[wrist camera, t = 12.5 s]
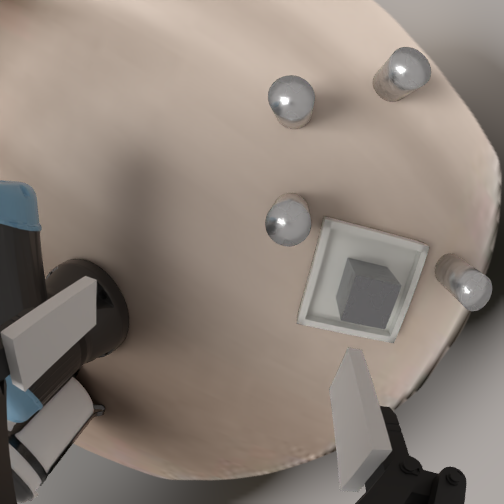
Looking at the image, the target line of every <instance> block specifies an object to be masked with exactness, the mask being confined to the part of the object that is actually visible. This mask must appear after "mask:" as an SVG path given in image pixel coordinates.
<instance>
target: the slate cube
mask: <svg viewBox="0 0 504 504" xmlns="http://www.w3.org/2000/svg"><path fill="white" fill-rule="evenodd" d="M400 289H401V284H400V283H399V282H398V280H397V279H396V278H395V276H394V275H393V274H392V272H391V271H390V270H389V269H388V267H385V266H381V265H377V264H373V263H369V262H364V261H360V260H356V259H352V258H347V261H346V265H345V268H344V271H343V275H342V278H341V281H340V285H339V288H338V291H337V294H336V301H337V305H338V310H339V314H340V319H341V321H346V322H351V323H355V324H360V325H365V326H370V327H375V328H380V329H385V328H386V326H387V323H388V321H389V318H390V316H391V313H392V310H393V308H394V305H395V302H396V300H397V297H398V294H399V291H400Z"/></svg>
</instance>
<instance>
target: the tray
mask: <svg viewBox="0 0 504 504" xmlns="http://www.w3.org/2000/svg"><path fill="white" fill-rule="evenodd" d="M428 250H429V246H428V245H426V244H425V243H423V242H420V241H416V240H413V239H409V238H405V237H402V236H398V235H395V234H391V233H387V232H384V231H380V230H376V229H372V228H369V227H365V226H361V225H357V224H353V223H349V222H345V221H341V220H337V219H333V218H329V217H325V216H324V217H323V222H322V226H321V230H320V234H319V238H318V241H317V245H316V249H315V253H314V257H313V261H312V264H311V268H310V272H309V276H308V279H307V283H306V287H305V290H304V294H303V297H302V301H301V304H300V308H299V311H298V315H297V324H301V325H305V326H310V327H314V328H319V329H324V330H328V331H333V332H338V333H343V334H348V335H353V336H358V337H363V338H368V339H373V340H379V341H384V342H390V343H394V341H395V339H396V337H397V334H398V332H399V330H400V327H401V325H402V322H403V320H404V318H405V315H406V312H407V310H408V307H409V305H410V302H411V300H412V297H413V294H414V291H415V289H416V286H417V283H418V280H419V277H420V275H421V272H422V269H423V266H424V263H425V260H426V256H427V253H428ZM347 258H352V259H356V260H360V261H364V262H369V263H373V264H377V265H381V266H385V267H388V269H389V270H390V271H391V272H392V274H393V275H394V276H395V278H396V279H397V280H398V282H399V283H400V284H401V289H400V291H399V294H398V297H397V300H396V302H395V305H394V308H393V310H392V313H391V316H390V318H389V321H388V323H387V326H386V328H385V329H380V328H375V327H370V326H365V325H360V324H355V323H351V322H346V321H341V319H340V314H339V310H338V305H337V301H336V294H337V291H338V288H339V285H340V281H341V278H342V275H343V271H344V268H345V265H346V261H347Z"/></svg>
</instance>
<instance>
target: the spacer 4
mask: <svg viewBox="0 0 504 504" xmlns="http://www.w3.org/2000/svg"><path fill="white" fill-rule="evenodd" d="M435 275H436V278H437V280H438V281H439V282H440V283H441V284H442V285H443V286H444V287H445V288H446V289H447V290H448V291H449V292H450V293H451V294H452V295H453V296H454V297H455V298H456V299H457V300H458V301H459V302H460V303H461V304H462V305H463V306H464V307H465V308H466V309H467V310H470V311H476V310H479V309H480V308H482V307H483V306H484V305H485V304H486V303H487V302H488V300H489V298H490V296H491V293H492V284H491V281H490V279H489V278H488V277H487V276H485V275H484V274H483V273H481V272H480V271H478V270H477V269H476V268H474V267H473V266H471V265H470V264H468V263H467V262H465V261H464V260H463V259H461V258H460V257H458V256H457V255H455V254H446V255H444V256H443V257H441V258H440V260H439V261H438V263H437V265H436V268H435Z"/></svg>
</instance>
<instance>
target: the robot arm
mask: <svg viewBox="0 0 504 504" xmlns="http://www.w3.org/2000/svg"><path fill="white" fill-rule="evenodd" d="M40 231H41V225H40V224H39V216H38V206H37V197H36V193H35V191H34V189H33V188H32V187H31V186H30V185H28V184H26V183H23V182H16V181H1V180H0V504H17V500H16V495H15V489H14V483H13V476H12V469H11V461H10V452H9V441H8V427H7V420H9V421H11V422H15V423H22V422H24V421H26V420H28V419H29V418H30V417H31V416H32V415H33V414H34V413H36V412H37V411H38V410H41V409H42V408H43V406H44V405H45V404H46V403H47V402H48V401H49V400H50V399H51V398H52V397H53V395H54V394H55V393H56V392H57V391H58V390H59V389H60V388H61V387H62V386H63V385H64V384H65V383H66V382H67V381H68V380H69V379H70V377H71V376H72V375H73V374H74V373H75V372H76V371H77V370H78V369H79V368H80V367H81V366H82V365H83V364H85V363H88V362H90V361H93V360H95V359H96V358H100V357H104V356H106V355H109V354H110V353H112V352H113V351H114V350H116V348H117V347H118V346H119V345H120V344H121V343H122V342H123V341H124V339H125V337H126V335H127V332H128V327H129V316H128V310H127V306H126V303H125V300H124V298H123V296H122V294H121V292H120V290H119V288H118V287H117V285H116V284H115V282H114V281H113V280H112V279H111V277H110V276H109V275H108V274H107V273H106V272H105V271H103V270H102V269H101V268H100V267H98V266H97V265H95V264H93V263H91V262H88V261H85V260H81V259H73V260H69V261H66V262H64V263H62V264H60V265H58V266H56V267H55V268H54V269H53V270H52V271H51V272H50V273H49V274H48V276H47V277H46V279H45V276H44V269H43V261H42V252H41V241H40ZM329 391H330V398H331V406H332V415H333V423H334V432H335V441H336V451H337V461H338V472H339V483H340V491H353V492H358V491H359V490H360V489H361V488H362V487H363V486H364V484H365V487H366V493H365V494H364V495H363V496H362V497H361V498H360V499H359V500H358V501H357V502H356V503H355V504H464V501H465V492H466V478H465V476H464V474H463V473H462V472H461V471H460V470H459V469H456V468H454V467H446V468H444V469H443V470H442V471H441V472H440V473H439V474H437V473H433V472H429V471H426V470H423V469H422V466H421V464H420V462H419V461H418V460H416V459H415V458H413V457H411V456H409V454H408V450H407V447H406V444H405V441H404V438H403V435H402V433H401V428H400V426H399V422H398V419H397V416H396V414H395V413H394V412H393V411H392V410H391V408H390V407H383V406H380V405H379V402H378V399H377V395H376V392H375V389H374V386H373V382H372V379H371V376H370V373H369V370H368V367H367V363H366V360H365V357H364V354H363V351H362V350H360V349H355V348H350V347H348V348H347V351H346V353H345V355H344V358H343V360H342V362H341V364H340V367H339V369H338V371H337V373H336V376H335V378H334V380H333V382H332V384H331V386H330V389H329Z"/></svg>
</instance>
